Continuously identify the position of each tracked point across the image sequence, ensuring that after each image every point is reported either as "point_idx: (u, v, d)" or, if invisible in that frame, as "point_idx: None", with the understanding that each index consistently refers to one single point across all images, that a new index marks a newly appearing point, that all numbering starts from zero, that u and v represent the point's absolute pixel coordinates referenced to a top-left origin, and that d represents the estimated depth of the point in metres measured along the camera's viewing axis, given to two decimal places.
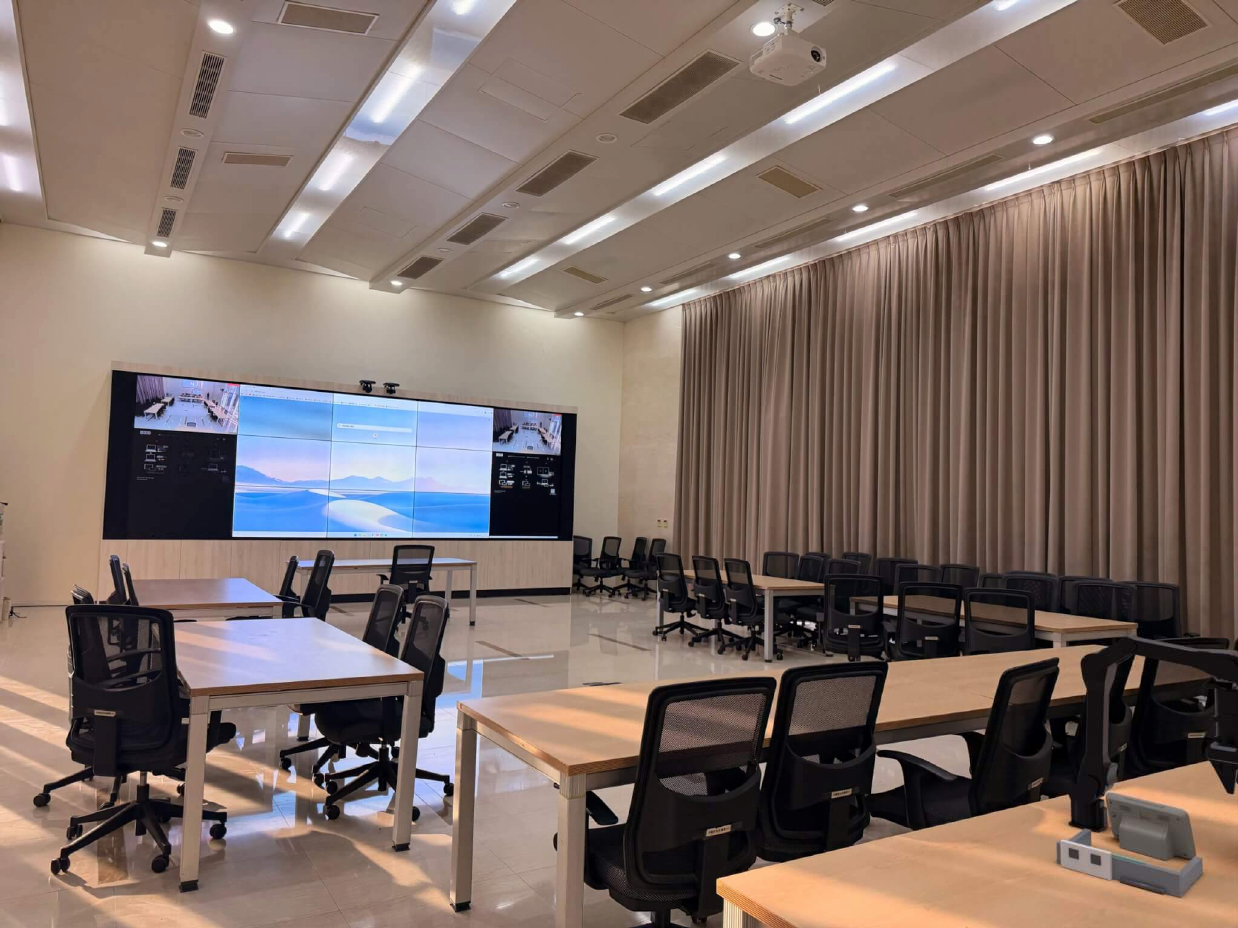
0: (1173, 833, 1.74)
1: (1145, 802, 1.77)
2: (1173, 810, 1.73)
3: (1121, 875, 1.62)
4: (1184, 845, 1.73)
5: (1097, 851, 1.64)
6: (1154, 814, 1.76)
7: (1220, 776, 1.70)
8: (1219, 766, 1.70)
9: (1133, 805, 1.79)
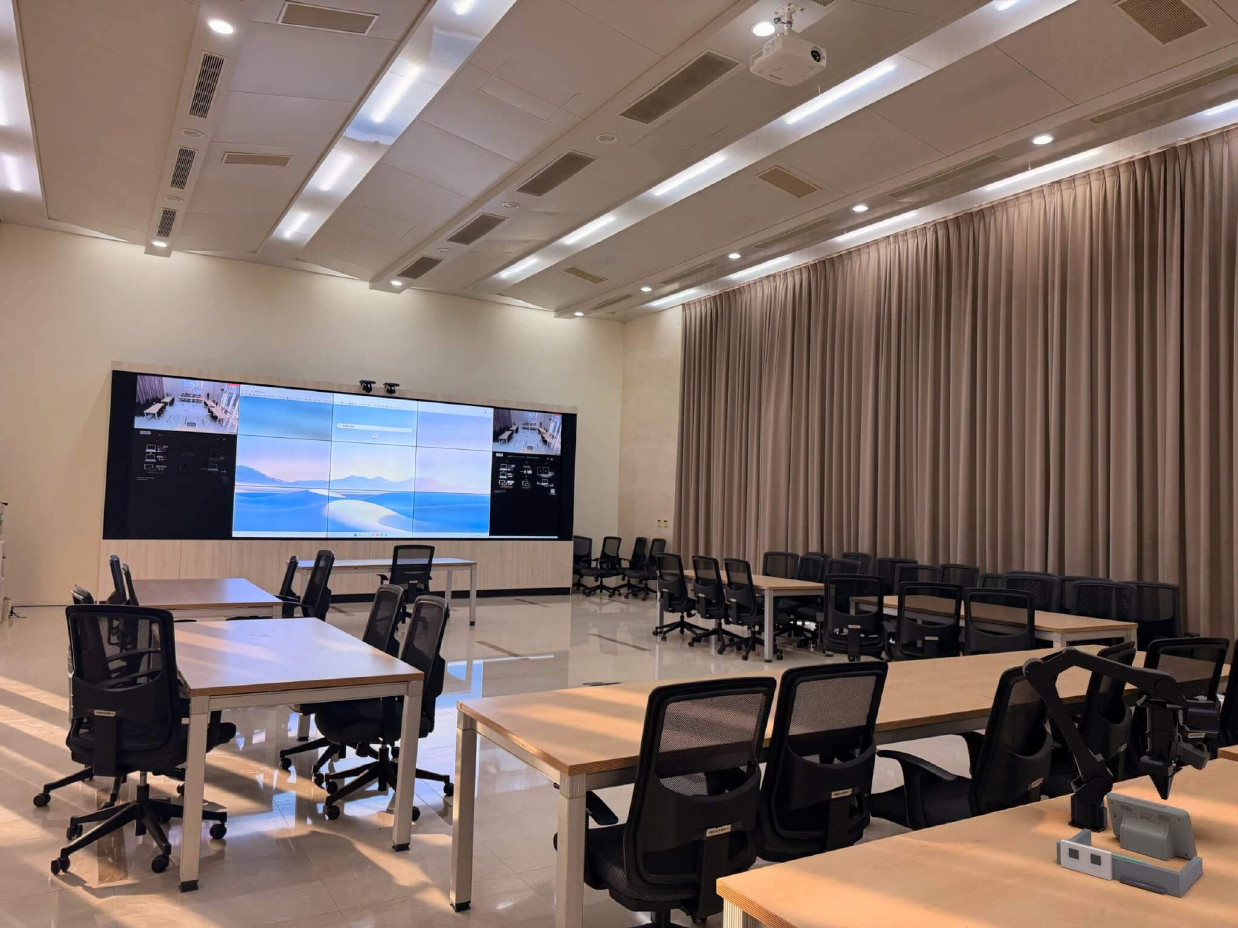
0: (1174, 833, 1.74)
1: (1146, 802, 1.77)
2: (1174, 810, 1.73)
3: (1121, 875, 1.62)
4: (1185, 845, 1.73)
5: (1097, 851, 1.64)
6: (1155, 814, 1.76)
7: (1155, 783, 1.87)
8: (1154, 774, 1.87)
9: (1133, 805, 1.79)
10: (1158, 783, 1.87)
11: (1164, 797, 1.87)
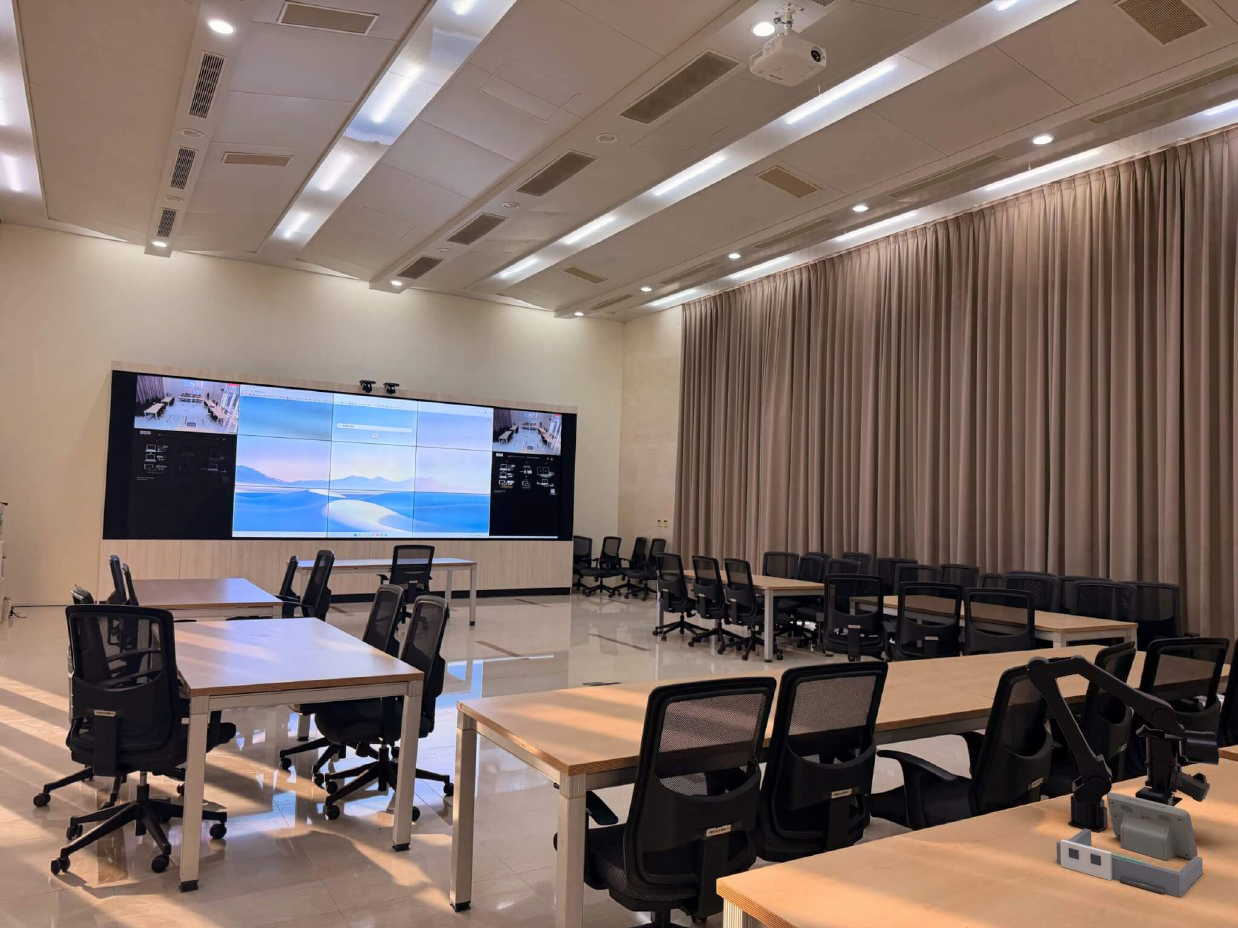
0: (1174, 833, 1.74)
1: (1146, 802, 1.77)
2: (1174, 810, 1.73)
3: (1121, 875, 1.62)
4: (1185, 845, 1.73)
5: (1097, 851, 1.64)
6: (1155, 814, 1.76)
7: None
8: None
9: (1134, 805, 1.79)
10: None
11: None
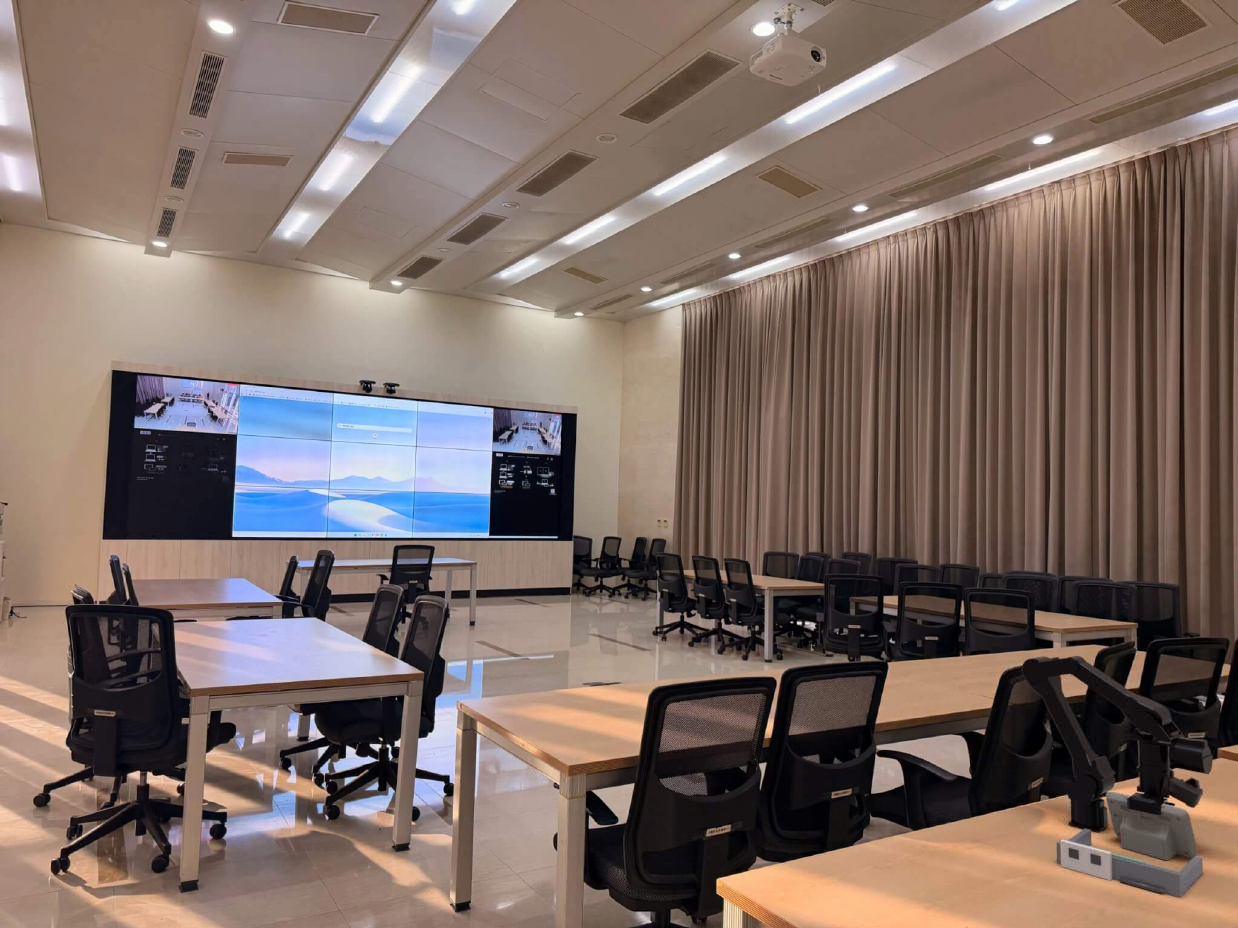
0: (1174, 832, 1.73)
1: None
2: (1173, 810, 1.73)
3: (1121, 875, 1.62)
4: (1185, 844, 1.72)
5: (1097, 851, 1.64)
6: (1154, 814, 1.75)
7: None
8: None
9: None
10: None
11: None
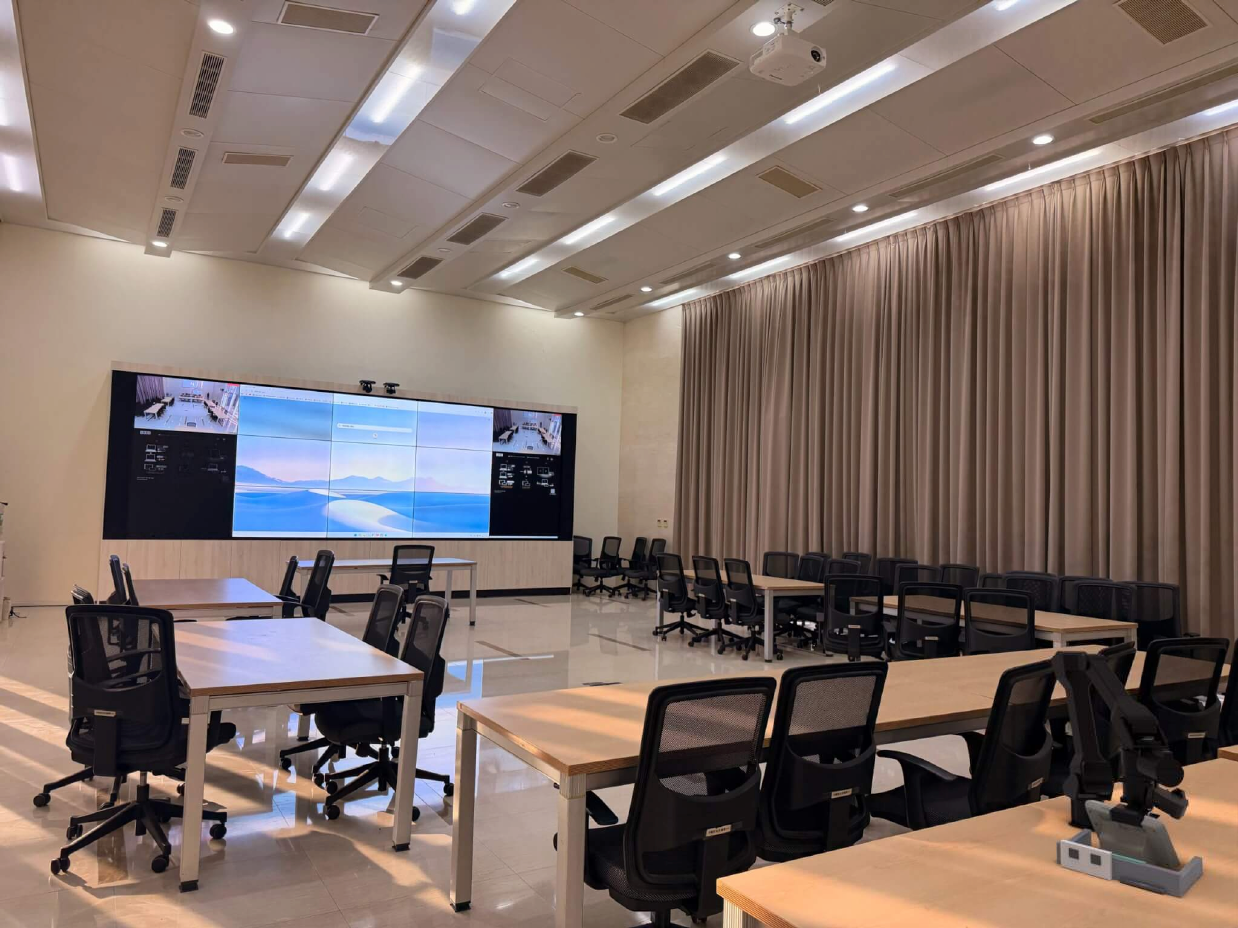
0: (1152, 844, 1.66)
1: None
2: (1149, 822, 1.65)
3: (1121, 875, 1.62)
4: (1164, 855, 1.65)
5: (1097, 851, 1.64)
6: None
7: None
8: None
9: None
10: None
11: None
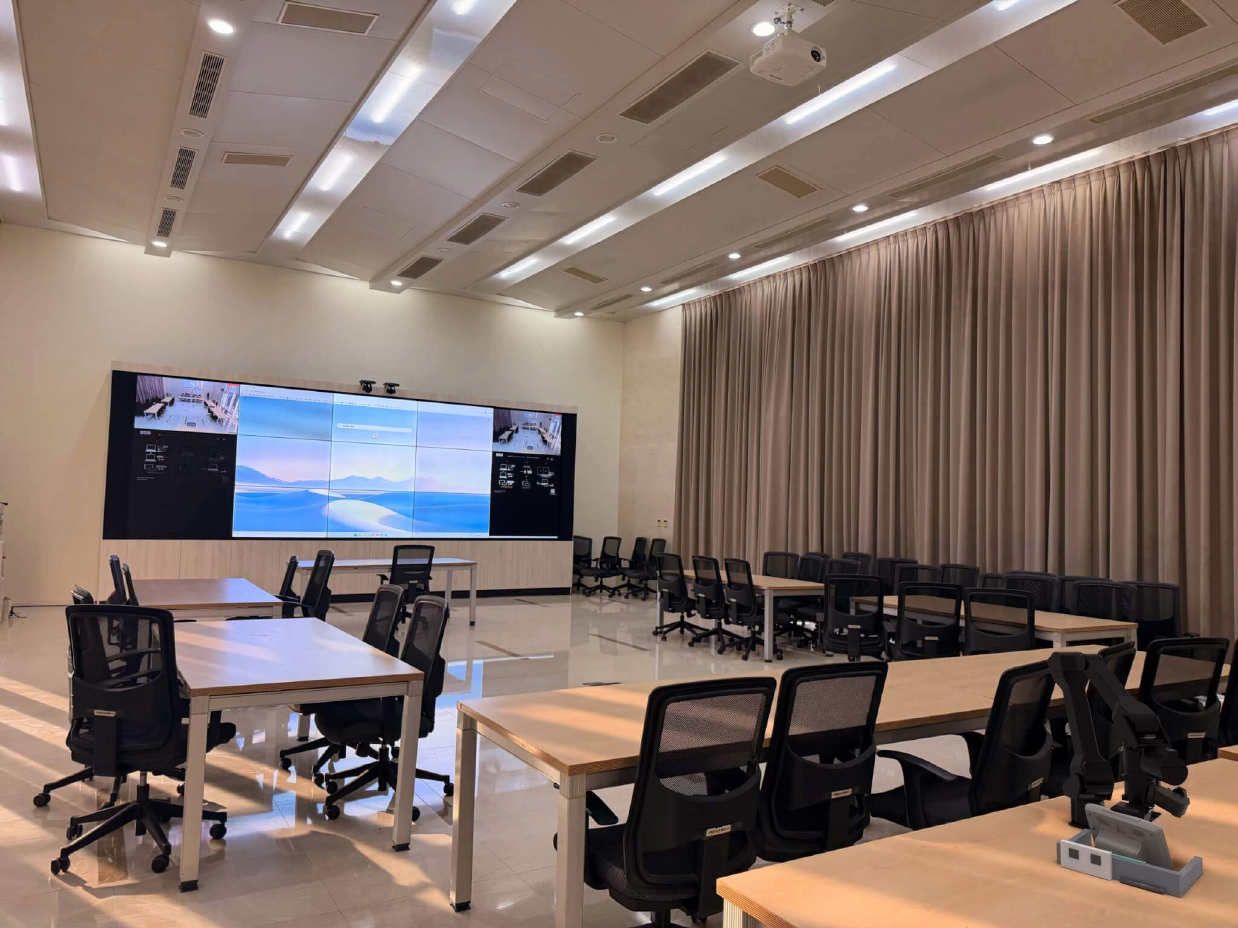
0: (1148, 849, 1.65)
1: (1121, 815, 1.69)
2: (1147, 825, 1.64)
3: (1121, 875, 1.62)
4: (1160, 862, 1.63)
5: (1097, 851, 1.64)
6: (1129, 828, 1.67)
7: None
8: None
9: (1109, 818, 1.70)
10: None
11: None
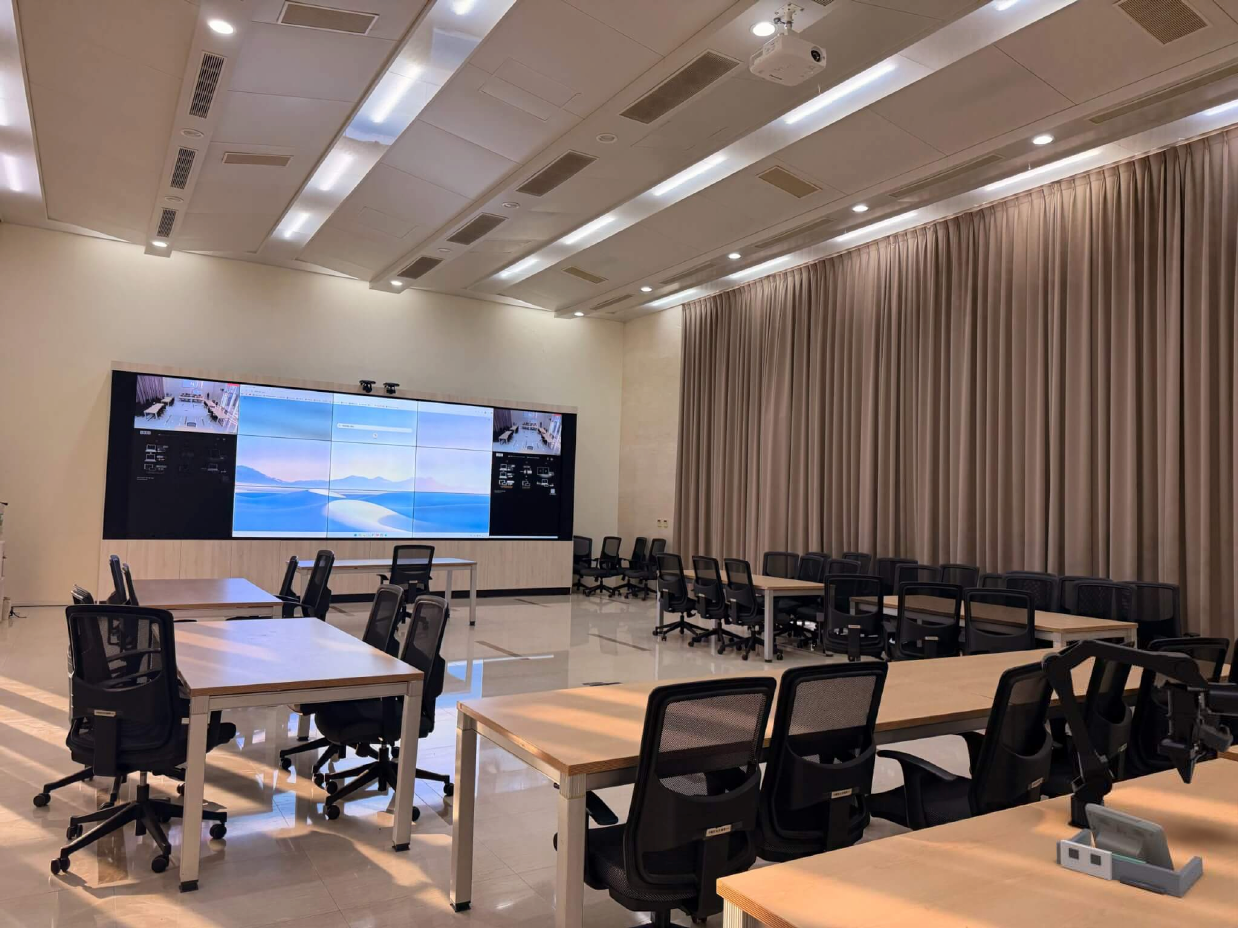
0: (1149, 849, 1.65)
1: (1121, 815, 1.69)
2: (1147, 825, 1.64)
3: (1121, 875, 1.62)
4: (1160, 862, 1.63)
5: (1097, 851, 1.64)
6: (1129, 828, 1.67)
7: (1177, 767, 1.85)
8: (1176, 758, 1.85)
9: (1109, 818, 1.70)
10: (1180, 767, 1.85)
11: (1187, 781, 1.85)
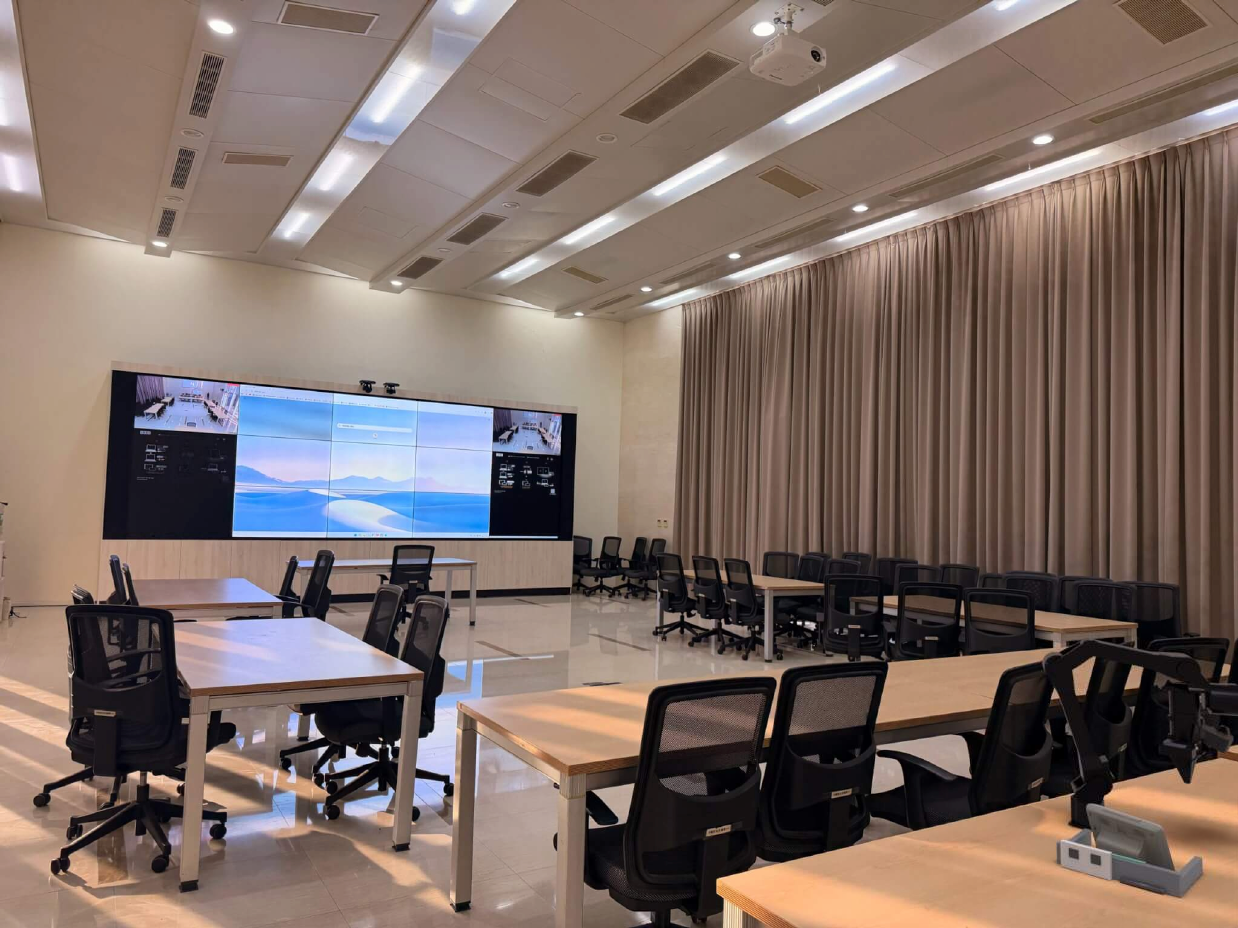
0: (1149, 850, 1.65)
1: (1122, 815, 1.69)
2: (1148, 825, 1.64)
3: (1121, 875, 1.62)
4: (1160, 862, 1.63)
5: (1097, 851, 1.64)
6: (1130, 828, 1.67)
7: (1178, 767, 1.86)
8: (1177, 758, 1.86)
9: (1110, 818, 1.70)
10: (1181, 767, 1.85)
11: (1187, 781, 1.85)
